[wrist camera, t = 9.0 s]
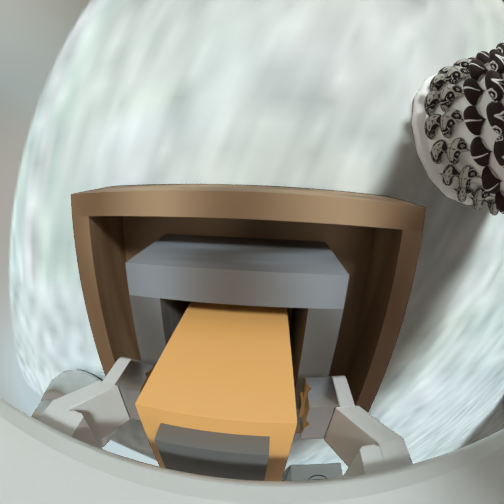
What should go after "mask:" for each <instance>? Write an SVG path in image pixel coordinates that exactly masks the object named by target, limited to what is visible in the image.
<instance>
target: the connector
mask: <svg viewBox="0 0 504 504" xmlns="http://www.w3.org/2000/svg"><path fill="white" fill-rule="evenodd" d="M135 405H136V408H137V411H138V414H139V417H140V419H141V422H142V425H143V428H144V430H145V433H146V435H147V438H148V440H149V443H150V445H151V448H152V450H153V452H154V455H155V457H156V459H157V461H158V464H159V466H160V467H163V468H167V469H172V470H176V471H181V472H187V473H192V474H198V475H205V476H212V477H220V478H229V479H240V480H255V481H281V479H282V476H283V473H284V469H285V466H286V463H287V459H288V456H289V452H290V449H291V445H292V441H293V438H294V434H295V430H296V426H297V414H296V401H295V389H294V378H293V366H292V356H291V345H290V335H289V325H288V316H287V307H265V306H247V305H231V304H217V303H205V302H193V301H191V302H190V304H189V306H188V308H187V309H186V311H185V313H184V315H183V316H182V318H181V320H180V322H179V324H178V325H177V327H176V329H175V331H174V333H173V334H172V336H171V338H170V340H169V342H168V343H167V345H166V347H165V349H164V351H163V352H162V354H161V356H160V358H159V360H158V362H157V364H156V365H155V367H154V369H153V371H152V373H151V375H150V376H149V378H148V380H147V382H146V384H145V386H144V388H143V390H142V392H141V393H140V395H139V397H138V399H137V401H136V403H135Z"/></svg>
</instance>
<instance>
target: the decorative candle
mask: <svg viewBox="0 0 504 504" xmlns="http://www.w3.org/2000/svg"><path fill="white" fill-rule="evenodd" d="M411 125H412V129H413V134H414V139H415V144H416V150H417V154H418V156H419V158H420V160H421V162H422V164H423V166H424V168H425V170H426V172H427V174H428V177H429V179H430V180H431V181H432V182H433V183H434V184H435V185H436V186H437V187H438V188H439V189H440V190H441V191H442V193H443V194H444V195H445V196H446V197H448V198H451V199H453V200H456V201H458V202H460V203H463V204H465V205H471V204H473V207H474V208H475V209H476V210H479V209H480V208H481V206H482V205H483V204H484V202H487V203H488V204H487V205H488V208H489V211H490V213H491V214H492V215H497V214H498V211H500V212H501V213H503V214H504V43H500V44H498V45H497V47H496V49H493V50H491V51H490V53H487V52H485V51H482V52H479V53H478V54H477V56H476V57H471V58H468V59H461V60H458V61H457V62H455V63H454V65H453V66H452V67H451V66H448V67H444V68H442V69H441V70H440V71H439V72H438V73H437V74H435V75H433V76H431V77H429V78H427V79H425V80H424V82H423V83H422V85H421V87H420V89H419V90H418V92H417V94H416V96H415V97H414V105H413V114H412V123H411Z"/></svg>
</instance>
